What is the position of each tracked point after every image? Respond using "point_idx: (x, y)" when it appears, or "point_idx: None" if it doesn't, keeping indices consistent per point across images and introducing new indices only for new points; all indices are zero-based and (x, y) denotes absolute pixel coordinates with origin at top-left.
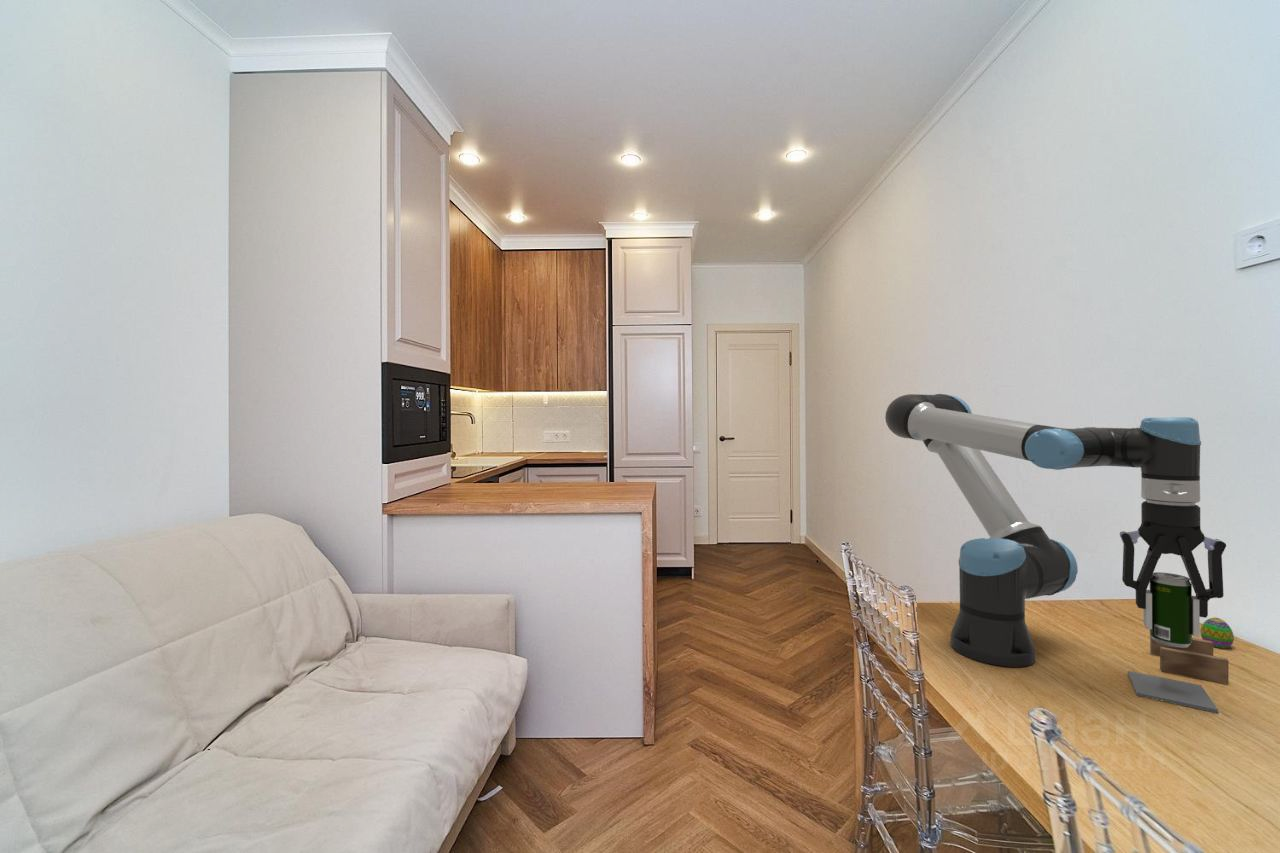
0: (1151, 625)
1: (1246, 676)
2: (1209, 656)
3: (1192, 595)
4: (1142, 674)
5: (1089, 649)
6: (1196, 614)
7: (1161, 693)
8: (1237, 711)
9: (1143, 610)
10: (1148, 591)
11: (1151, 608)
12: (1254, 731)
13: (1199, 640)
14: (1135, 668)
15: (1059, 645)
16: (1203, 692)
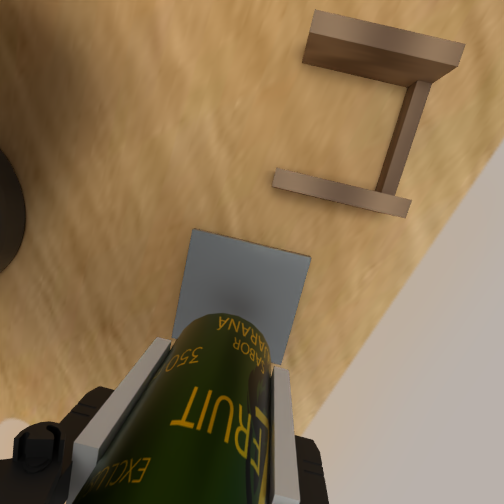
0: None
1: (458, 140)
2: (372, 203)
3: (288, 499)
4: (215, 240)
5: (158, 89)
6: None
7: None
8: (319, 340)
9: (134, 365)
10: (86, 478)
11: None
12: (302, 406)
13: (428, 53)
14: (222, 187)
15: (93, 88)
16: (295, 295)
